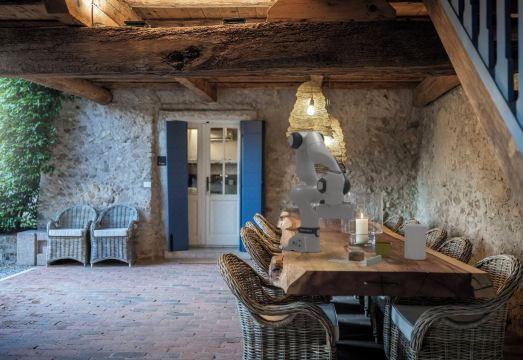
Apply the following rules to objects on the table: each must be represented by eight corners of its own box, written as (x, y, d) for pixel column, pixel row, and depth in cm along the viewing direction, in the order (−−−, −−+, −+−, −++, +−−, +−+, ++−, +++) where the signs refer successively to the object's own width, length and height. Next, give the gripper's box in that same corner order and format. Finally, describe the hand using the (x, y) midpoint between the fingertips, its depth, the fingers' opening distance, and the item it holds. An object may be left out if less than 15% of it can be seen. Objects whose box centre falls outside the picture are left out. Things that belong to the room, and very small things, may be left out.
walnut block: (348, 260, 238) (348, 252, 238) (353, 258, 242) (353, 251, 242) (359, 261, 234) (359, 253, 234) (364, 260, 239) (364, 252, 239)
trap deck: (326, 263, 235) (326, 255, 235) (341, 258, 250) (341, 250, 249) (368, 269, 223) (368, 260, 223) (381, 263, 237) (381, 255, 237)
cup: (426, 260, 248) (426, 226, 247) (404, 259, 251) (404, 225, 251) (425, 257, 258) (425, 224, 258) (404, 256, 261) (404, 223, 261)
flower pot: (391, 261, 245) (392, 244, 245) (374, 260, 247) (375, 243, 247) (390, 258, 254) (391, 241, 254) (374, 257, 256) (374, 241, 255)
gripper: (356, 201, 242) (355, 228, 242) (320, 200, 253) (320, 225, 253) (351, 202, 237) (350, 229, 237) (315, 200, 248) (315, 226, 248)
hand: (334, 227), depth 245 cm, fingers open, 8 cm apart
